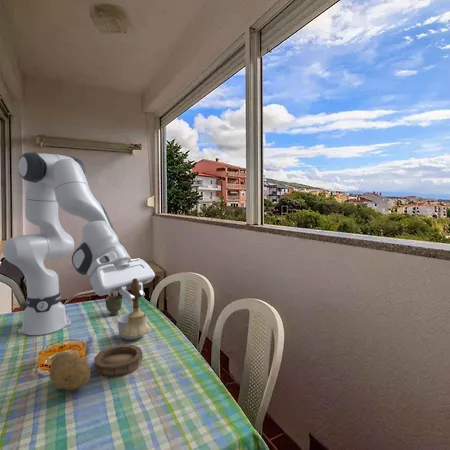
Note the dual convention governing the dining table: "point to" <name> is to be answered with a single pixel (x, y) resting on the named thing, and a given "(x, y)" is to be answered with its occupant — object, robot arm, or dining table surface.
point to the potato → (69, 371)
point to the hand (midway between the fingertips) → (137, 298)
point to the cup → (113, 304)
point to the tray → (118, 360)
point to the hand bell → (136, 316)
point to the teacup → (123, 323)
